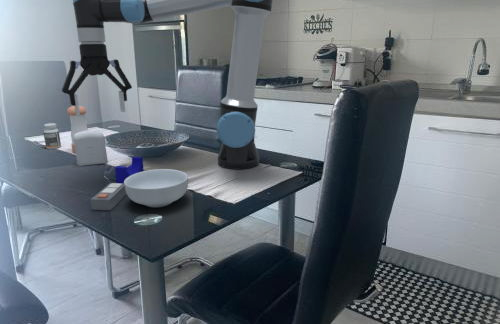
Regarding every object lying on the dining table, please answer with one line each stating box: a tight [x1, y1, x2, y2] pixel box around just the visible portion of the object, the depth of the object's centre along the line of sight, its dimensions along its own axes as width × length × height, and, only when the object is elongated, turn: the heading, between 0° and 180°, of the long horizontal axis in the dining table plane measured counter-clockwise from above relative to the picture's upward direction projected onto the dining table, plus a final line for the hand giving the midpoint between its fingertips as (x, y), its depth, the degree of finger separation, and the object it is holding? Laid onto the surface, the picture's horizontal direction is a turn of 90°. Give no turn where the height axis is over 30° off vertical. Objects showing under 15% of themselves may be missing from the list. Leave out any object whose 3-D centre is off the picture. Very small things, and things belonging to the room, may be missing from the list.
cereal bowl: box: [124, 168, 189, 208], centre depth 104 cm, size 17×17×7 cm
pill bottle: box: [42, 122, 62, 150], centre depth 159 cm, size 6×6×10 cm
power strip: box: [90, 182, 127, 211], centre depth 106 cm, size 5×15×4 cm, turn 176°
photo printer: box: [74, 129, 109, 167], centre depth 136 cm, size 10×4×12 cm, turn 110°
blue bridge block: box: [114, 156, 145, 183], centre depth 122 cm, size 12×4×6 cm, turn 168°
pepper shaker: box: [66, 105, 89, 154], centre depth 151 cm, size 7×7×19 cm
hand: (101, 113), depth 120 cm, fingers open, 13 cm apart
